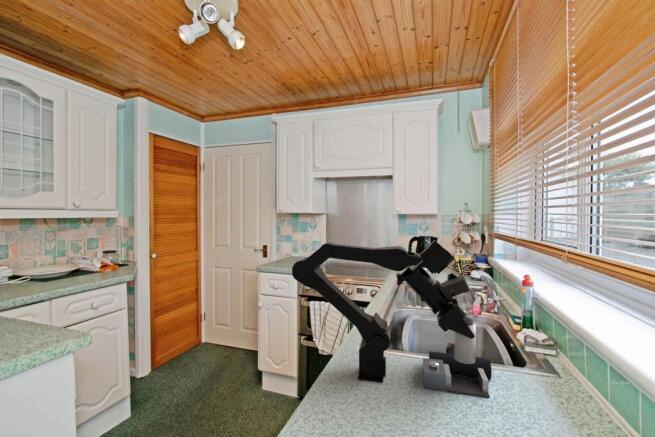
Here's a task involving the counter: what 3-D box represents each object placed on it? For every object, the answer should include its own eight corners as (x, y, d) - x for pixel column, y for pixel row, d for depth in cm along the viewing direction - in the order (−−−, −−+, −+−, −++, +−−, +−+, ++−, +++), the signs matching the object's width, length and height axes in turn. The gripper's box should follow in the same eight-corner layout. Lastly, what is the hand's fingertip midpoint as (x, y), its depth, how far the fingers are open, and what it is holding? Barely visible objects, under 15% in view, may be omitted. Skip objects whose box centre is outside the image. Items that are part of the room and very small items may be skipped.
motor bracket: (424, 388, 76) (424, 369, 76) (422, 372, 83) (422, 354, 83) (489, 398, 72) (490, 377, 72) (482, 380, 80) (482, 361, 79)
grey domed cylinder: (458, 363, 74) (459, 318, 74) (451, 354, 79) (452, 311, 79) (478, 364, 74) (479, 318, 74) (470, 355, 79) (471, 312, 79)
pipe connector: (428, 338, 94) (482, 343, 90) (428, 355, 94) (482, 361, 90) (429, 355, 83) (491, 363, 79) (429, 375, 83) (491, 383, 79)
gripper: (455, 271, 68) (510, 326, 66) (444, 259, 86) (486, 301, 84) (418, 304, 70) (469, 358, 68) (414, 285, 88) (455, 327, 86)
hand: (471, 333), depth 76 cm, fingers closed on grey domed cylinder, 5 cm apart
